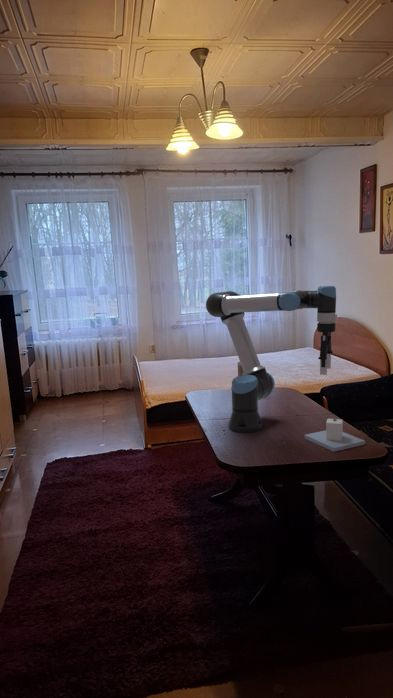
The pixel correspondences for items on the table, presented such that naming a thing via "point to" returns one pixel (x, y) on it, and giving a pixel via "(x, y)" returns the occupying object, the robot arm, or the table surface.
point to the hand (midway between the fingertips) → (325, 371)
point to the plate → (334, 441)
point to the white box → (334, 429)
